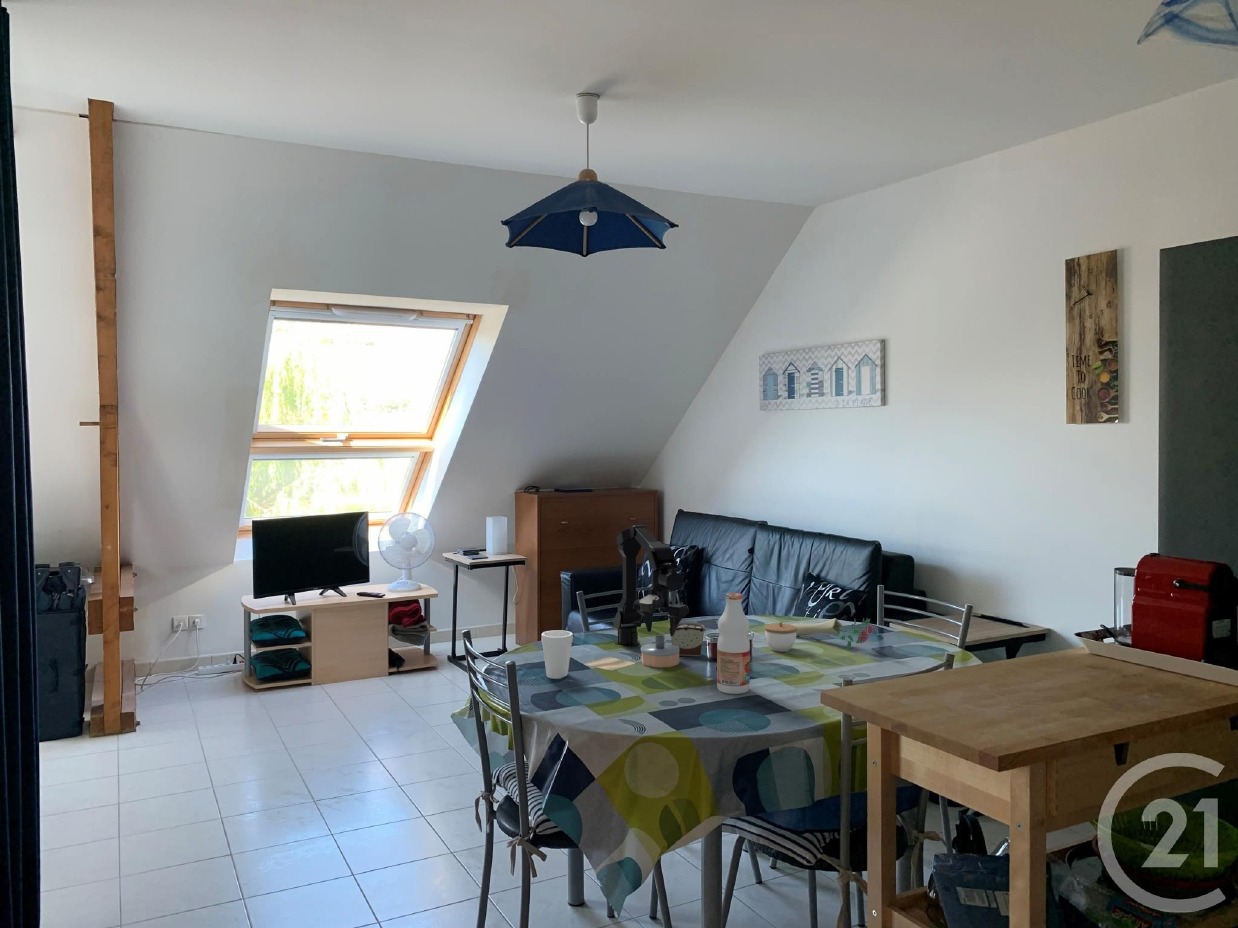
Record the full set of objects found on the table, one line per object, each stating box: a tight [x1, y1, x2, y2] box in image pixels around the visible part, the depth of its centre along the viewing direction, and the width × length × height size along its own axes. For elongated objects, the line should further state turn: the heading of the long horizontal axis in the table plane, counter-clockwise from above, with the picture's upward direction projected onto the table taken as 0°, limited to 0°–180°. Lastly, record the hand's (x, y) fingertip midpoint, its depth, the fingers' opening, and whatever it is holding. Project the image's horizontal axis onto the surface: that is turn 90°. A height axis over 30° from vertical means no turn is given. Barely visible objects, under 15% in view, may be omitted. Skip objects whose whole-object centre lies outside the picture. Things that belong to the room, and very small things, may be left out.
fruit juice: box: [716, 592, 751, 695], centre depth 268 cm, size 9×9×28 cm
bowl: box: [641, 652, 680, 668], centre depth 297 cm, size 12×12×4 cm
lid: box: [640, 634, 679, 656], centre depth 297 cm, size 12×12×5 cm
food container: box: [668, 621, 707, 657], centre depth 310 cm, size 12×6×10 cm, turn 84°
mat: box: [583, 656, 637, 672], centre depth 296 cm, size 12×12×1 cm
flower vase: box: [791, 617, 874, 652], centre depth 321 cm, size 12×12×35 cm
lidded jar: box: [764, 621, 797, 653], centre depth 315 cm, size 11×11×9 cm
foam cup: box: [540, 629, 574, 680], centre depth 283 cm, size 10×9×13 cm
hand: (660, 633), depth 297 cm, fingers open, 9 cm apart
